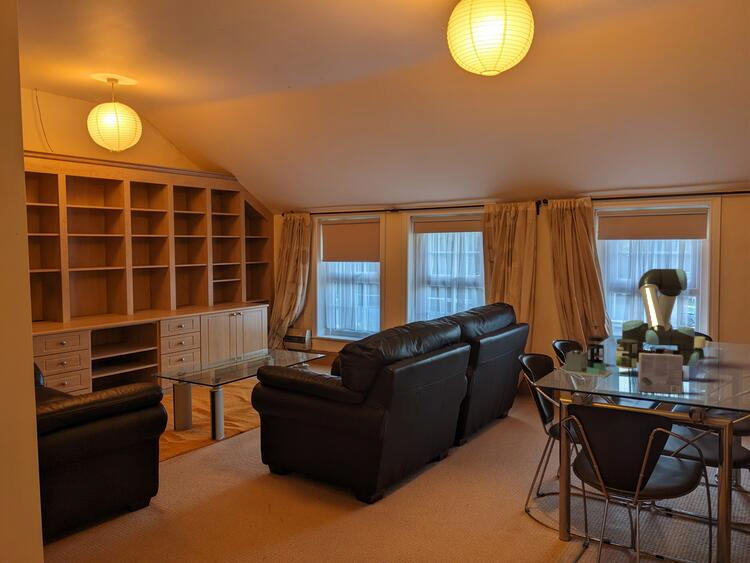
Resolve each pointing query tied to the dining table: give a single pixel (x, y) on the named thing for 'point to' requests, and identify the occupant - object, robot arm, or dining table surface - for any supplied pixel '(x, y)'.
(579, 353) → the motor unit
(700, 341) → the character mug
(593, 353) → the french press
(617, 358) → the coffee can
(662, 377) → the cake pan box
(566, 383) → the dining table surface
